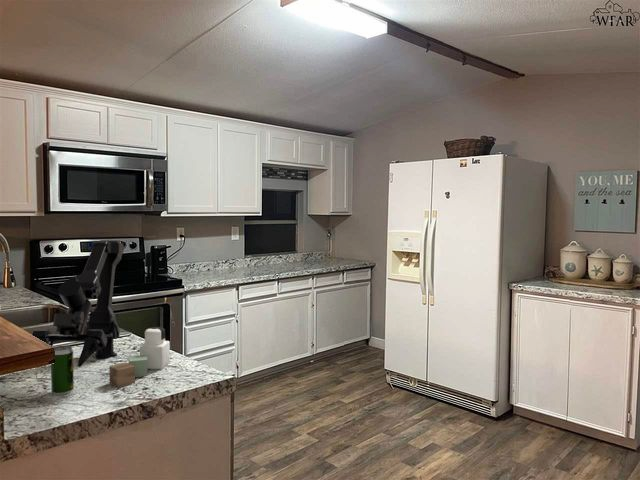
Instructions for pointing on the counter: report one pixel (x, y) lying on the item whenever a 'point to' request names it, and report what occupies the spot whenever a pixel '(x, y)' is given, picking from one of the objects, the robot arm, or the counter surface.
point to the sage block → (139, 365)
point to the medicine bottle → (156, 348)
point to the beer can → (62, 371)
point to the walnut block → (122, 374)
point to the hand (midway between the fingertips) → (60, 366)
